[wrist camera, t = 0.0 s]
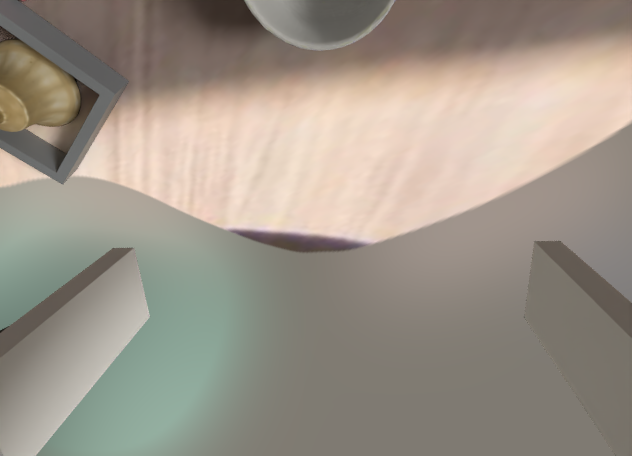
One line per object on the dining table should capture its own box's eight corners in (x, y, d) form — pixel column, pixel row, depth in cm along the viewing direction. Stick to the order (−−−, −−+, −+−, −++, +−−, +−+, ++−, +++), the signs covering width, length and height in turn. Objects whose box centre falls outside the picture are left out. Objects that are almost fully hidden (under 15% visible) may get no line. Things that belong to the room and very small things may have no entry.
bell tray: (-20, -27, 34) (-47, -20, 32) (129, 81, 39) (115, 94, 37) (-54, 89, 41) (-78, 102, 39) (77, 168, 46) (62, 184, 44)
